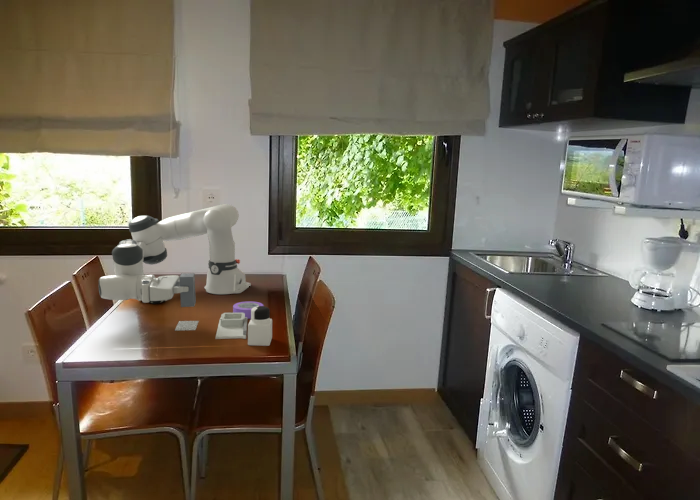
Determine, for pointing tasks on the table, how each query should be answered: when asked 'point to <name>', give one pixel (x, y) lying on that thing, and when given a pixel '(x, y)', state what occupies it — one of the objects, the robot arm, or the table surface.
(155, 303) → the pneumatic valve
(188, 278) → the clip
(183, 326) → the grey rectangular plate
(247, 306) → the masking tape
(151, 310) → the table surface
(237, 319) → the holder
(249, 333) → the medicine bottle
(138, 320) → the table surface
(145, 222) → the robot arm
